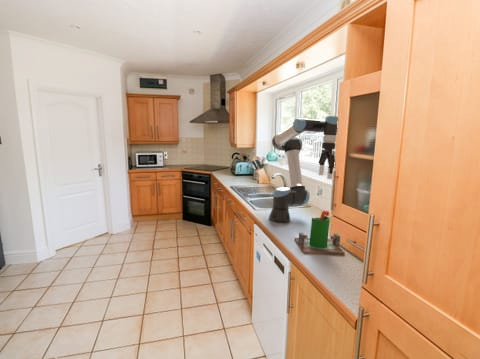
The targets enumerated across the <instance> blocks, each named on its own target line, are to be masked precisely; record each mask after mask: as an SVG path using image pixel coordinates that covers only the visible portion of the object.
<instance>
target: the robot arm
mask: <svg viewBox="0 0 480 359" xmlns="http://www.w3.org/2000/svg"><path fill="white" fill-rule="evenodd" d="M324 118H325V119H312V118H302V117H300V118H299V117H298V118H294V121H293V123H292V125H290V126H289V127H288V128H286V129H285V130H283V131H282V132H278V133H277V134H275V135H274V136H273V138H272V139H271V143H272V147H274V149H275V150H278V151H282V152H284V154H285V156H287V164H288V166H287V167H288V173H289V181H290V186H289V187H287V186H285V187H284V186H281V187H276V188H274V190H273V195H272V197H273V198H272V208H271V211H270V213H269V217H268V219H269V220H270V221H271V222H275V223H278V224H279V223H280V224H283V223H285V224H286V223H290V221H291V215H290V211H289V208H290V206H305V205H307V204H308V203H309V201H310V198H311V197H310V192H309V189H306V186H305V185H304V184H303V178H302V169H301V164H300V157H299V156H300V155H299V154H300V153H301V150H302V149H303V141H302V138H301V137H299V135H301V134H302V133H304V132H315V133H323V136H322V145H321V149H322V150H321V153H320V155H319V156H320V157H319V161H318V164H319V167H318V169H319V170H318V176H324V172H325V163H326V161H327V162H328V167H327V176H326V179H327V180H332V179H333V176H334V175H333V173H334V168H335V167H334V162H335V163H336V156H335V155H336V154H335V153H336V151H334V150H335V149H336V142H337V137H336V135H337V134H338V128H337V121H338V122H339V117H338V116H337V115H327V116H325V117H324Z"/></svg>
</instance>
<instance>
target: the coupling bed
mask: <svg viewBox="0 0 480 359" xmlns="http://www.w3.org/2000/svg"><path fill="white" fill-rule="evenodd" d="M294 242H295V243H296V244H297V246H298V248H299V249H300V251H301V252H302V253H303V255H326V256H328V255H329V256H331V255H332V256H345V254H346V253H345V251H344V250H343V249H342V248H341V247H340V242H341V236H340V235H339V234H338V233H333V235H331V236H330V238H328V242H327V247H325V248H317V247H313V246H311V245H309V244H310V237H308V234H305V233H304V232H298V237H294Z"/></svg>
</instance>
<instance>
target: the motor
mask: <svg viewBox="0 0 480 359" xmlns="http://www.w3.org/2000/svg"><path fill="white" fill-rule="evenodd" d="M329 216H330V211H328V210H323V211H322V212H321V214H320V217H311V224H310V236H309V238H310V244H309V245H311V246H313V247H317V248H325V247H327V242H328V239H329V231H330V223H331V222H330V221H331V218H330V217H329Z"/></svg>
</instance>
